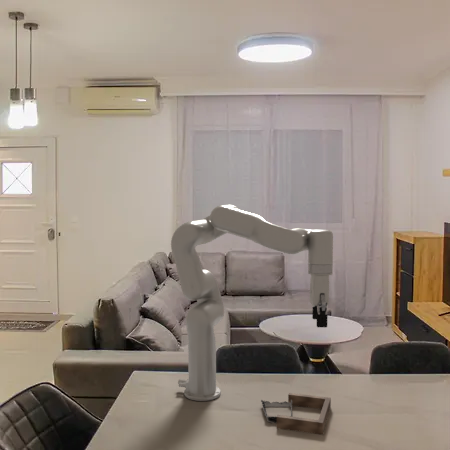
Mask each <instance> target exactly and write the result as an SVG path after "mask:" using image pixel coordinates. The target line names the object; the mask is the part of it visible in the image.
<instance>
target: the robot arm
mask: <svg viewBox="0 0 450 450" xmlns="http://www.w3.org/2000/svg"><path fill="white" fill-rule="evenodd" d="M225 234H231V235H233V236H236V237H240V238H243V239H247V240H250V241H252V242H254V243H256V244H259V245H261V246H263V247H264V248H265V247H266V248H268V249H271V250H274V251H278V252H281V253H284V254H288V255H296V254H299V253H300V252H304V251H305V252H306V251H307V253H308V256H307V257H308V259H307V261H308V263H307V265H308V266H307V268H308V269H307V274H308V275H310V281H309V303H310V305H311V307H312V317H311V318H312V319H313V320H316V327H317V328H328V307H329V304H330V301H329V300H330V276H332V275H333V272H334V271H333V267H334V266H333V264H334V263H333V262H334V261H333V260H334V258H333V257H334V256H333V255H334V254H333V253H334V234H333V232H332V231H331V230H330V229H329V230H328V229H308V228H301V227H297V228H296V227H295V228H292V229H290V228H287V227H284V226H280V225H277V224H273V223H271V222H268V221H266V219H264V217H262V216H261V215H259V214H256V213H253V212H252V213H251V212H249V211H244V210H241V209H240V208H239V207H238V206H236V205H233V204H222V205H220V204H219V205H217V206H216V207H214V208H213V209H212V211H211V212H210V214H209V215H208V216H206V217H204V218H201V219H196V220H190V221H186V222H184V223H182V224H181V225H179V227H177V228H176V229H175V231H174V233H173V234H172V237H171V241H170V242H171V243H170V245H171V246H170V247H171V253H172V256H173V259H174V263H175V267H176V272H177V275H178V281H179V284H180V289H181V292H182V295H183V296H184V298H185V299H187V300H188V301H192V302H194V301H197V303H196V304H195V305H193V306H192V307H190V308H189V310H188V311H187V313H186V317H185V327H186V333H187V353H188V354H187V355H188V367H187V368H188V371H187V372H188V378H187V379H182V378H179V379H178V380H177V381H178V382H177V383H178V387H179V388H185V389H184V390H183V391H184V393H183V394H184V397H185V398H187V399H189V400H191V401H196V402H206V401H207V402H208V401H212V400H214V399H218V398H219V397H221V394H222V391H221V388H219V386H217V345H216V342H217V341H216V336H215V335H216V334H215V330H214V327H215V326H216V325H218V324H220V322H221V321H222V320H223V319H224V317H225V307H224V302H223V298H222V293H221V290H220V287H219V286H220V285H219V284H218V280H217V278H216V276H215V274H213V272H211V271H210V270H207V269H204V268H203V267H202V263H201V262H202V261H201V259H200V255H199V254H198V252H197V251H196V247H197V246H200V245H201V246H202V245H204V244H208V243H210V242H212V241H214V240H216V239H218V238H220V237H222V236H225Z"/></svg>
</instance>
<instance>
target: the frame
mask: <svg viewBox="0 0 450 450" xmlns="http://www.w3.org/2000/svg"><path fill="white" fill-rule="evenodd" d="M287 397H288V398H287V402H289V403H291V400H292V407H293V406H294V407H295V406H296V407H300V408H301V407H303V408H310V409H318V410H321V411H320V414H319V417H318V419H314V418H313V419H311V418H307V417H306V418H305V417H299V416H298V417H297V416H292V417H291V415H282V414H277V416H276V417H277V423H276V429H278V430H279V429H280V430H286V431H293V432H300V433H307V434H314V435H322V436H323V435H324V432H325V428H326V426H327V422H328V420H329V419H328V418H329V415H330V412H331V409H332V407H331V405H332V404H331V401H332V399H331V397H329V396H320V395H310V394H302V393H293V392H288V395H287Z"/></svg>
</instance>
